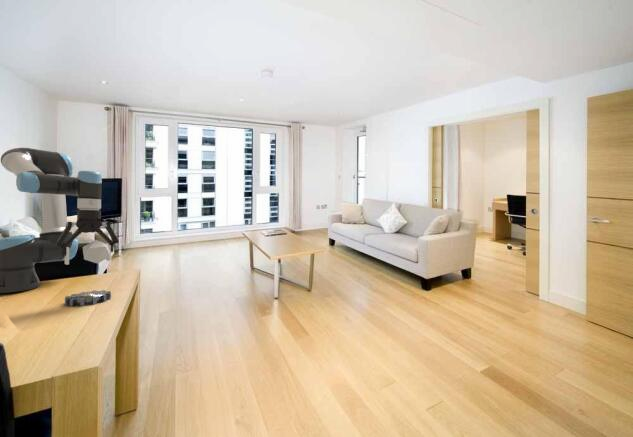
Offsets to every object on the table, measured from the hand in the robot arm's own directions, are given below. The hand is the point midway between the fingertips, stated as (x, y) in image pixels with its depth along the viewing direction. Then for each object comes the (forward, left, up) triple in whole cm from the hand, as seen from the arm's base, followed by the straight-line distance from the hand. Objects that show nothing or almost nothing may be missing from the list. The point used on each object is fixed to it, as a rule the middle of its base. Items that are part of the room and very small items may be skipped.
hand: (88, 262), depth 115 cm
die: (+1, +3, -1) cm, 3 cm away
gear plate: (0, 0, -16) cm, 16 cm away
